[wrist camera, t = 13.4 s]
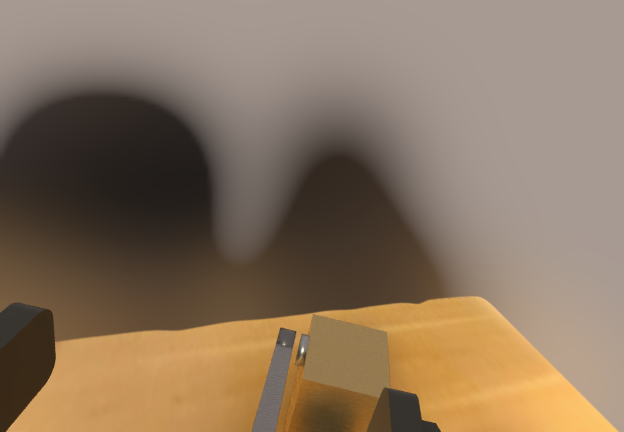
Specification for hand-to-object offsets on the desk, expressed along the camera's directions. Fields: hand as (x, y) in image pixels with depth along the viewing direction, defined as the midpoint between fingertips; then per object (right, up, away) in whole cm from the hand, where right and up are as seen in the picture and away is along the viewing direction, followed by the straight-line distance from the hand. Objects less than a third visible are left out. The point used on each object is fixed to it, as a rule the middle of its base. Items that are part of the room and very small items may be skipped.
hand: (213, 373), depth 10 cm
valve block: (+3, -23, +39) cm, 45 cm away
